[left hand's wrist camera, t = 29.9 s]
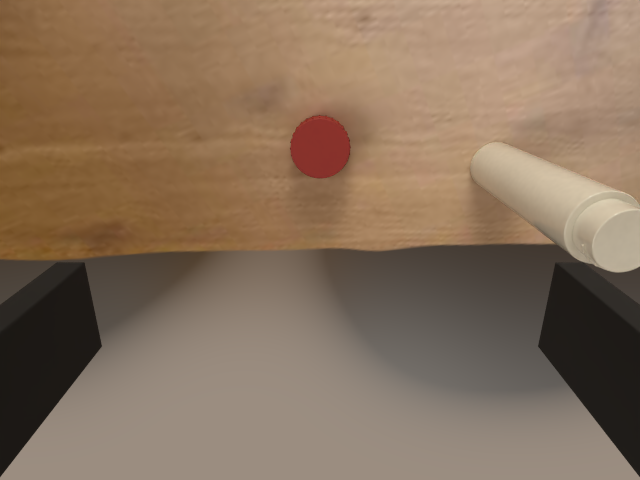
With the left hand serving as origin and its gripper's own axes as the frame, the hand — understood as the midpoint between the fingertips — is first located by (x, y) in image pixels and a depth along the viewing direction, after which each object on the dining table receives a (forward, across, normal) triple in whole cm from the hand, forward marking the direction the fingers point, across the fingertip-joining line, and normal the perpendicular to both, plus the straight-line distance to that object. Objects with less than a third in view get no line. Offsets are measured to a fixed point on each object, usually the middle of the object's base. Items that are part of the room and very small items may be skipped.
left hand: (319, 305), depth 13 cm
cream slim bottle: (+30, +16, -2) cm, 34 cm away
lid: (+28, 0, 0) cm, 28 cm away
